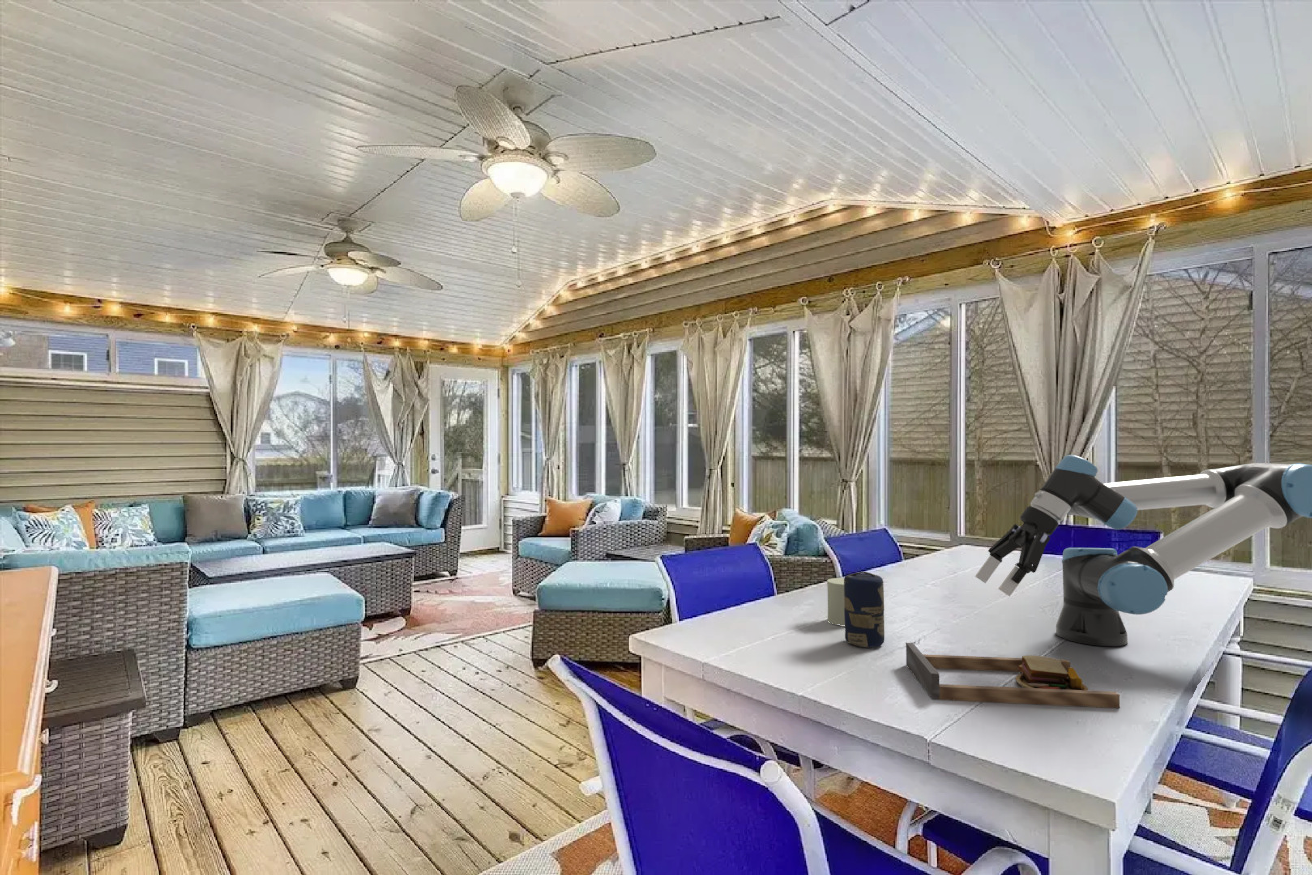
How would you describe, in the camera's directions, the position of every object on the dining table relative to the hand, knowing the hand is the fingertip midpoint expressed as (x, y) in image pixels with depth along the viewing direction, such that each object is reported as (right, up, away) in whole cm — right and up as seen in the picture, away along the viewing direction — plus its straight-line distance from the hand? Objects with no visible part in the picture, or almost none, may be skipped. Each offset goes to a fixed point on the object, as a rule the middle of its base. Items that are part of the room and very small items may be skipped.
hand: (991, 586), depth 154 cm
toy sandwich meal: (-1, -16, -23) cm, 28 cm away
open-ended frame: (-8, -15, -22) cm, 28 cm away
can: (-28, -16, +26) cm, 41 cm away
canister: (-29, -16, +6) cm, 33 cm away
